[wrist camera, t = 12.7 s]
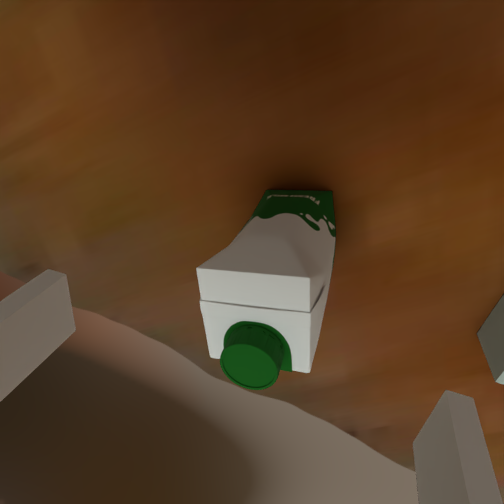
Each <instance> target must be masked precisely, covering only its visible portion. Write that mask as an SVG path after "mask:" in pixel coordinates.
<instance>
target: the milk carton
mask: <svg viewBox="0 0 504 504" xmlns="http://www.w3.org/2000/svg"><path fill="white" fill-rule="evenodd" d="M335 243H336V226H335V216H334V207H333V196H332V191H307V190H266V192H265V194H264V195H263V197H262V199H261V201H260V202H259V204H258V206H257V207H256V209H255V211H254V213H253V214H252V216H251V218H250V219H249V220H248V222H247V223H246V224H245V226H244V227H243V228H242V230H241V231H240V232H239V234H238V235H237V236H236V238H235V239H234V240H233V241H232V243H231V244H230V245H229V246H228V247H226V248H225V249H223V250H222V251H220V252H219V253H218V254H216V255H215V256H213V257H212V258H210V259H209V260H208V261H206V262H205V263H203V264H202V265H200V266H199V267H197V268H196V270H197V276H198V282H199V288H200V294H201V297H200V308H201V312H202V315H203V320H204V326H205V331H206V337H207V343H208V348H209V354H210V357H212V358H217V359H220V365H221V368H222V370H223V372H224V373H225V375H226V376H227V377H228V378H229V379H230V380H231V381H233V382H234V383H235V384H237V385H239V386H241V387H244V388H247V389H252V390H262V389H266V388H268V387H270V386H272V385H273V384H274V383H275V382H276V380H277V378H278V375H279V371H280V370H284V371H289V372H292V370H294V371H299V372H304V373H309V372H310V370H311V366H312V361H313V358H314V354H315V350H316V346H317V343H318V339H319V335H320V330H321V324H322V319H323V314H324V310H325V306H326V301H327V296H328V290H329V285H330V280H331V274H332V269H333V263H334V256H335Z"/></svg>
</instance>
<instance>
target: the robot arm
mask: <svg viewBox="0 0 504 504" xmlns="http://www.w3.org/2000/svg"><path fill="white" fill-rule="evenodd" d="M74 331H76V328H75V323H74V317H73V312H72V305H71V300H70V294H69V288H68V283H67V277H66V274H63V273H60V272H56V271H53V270H50V269H47V270H46V271H44V272H43V273H41V274H40V275H38V276H37V277H35V278H34V279H33V280H31V281H30V282H28V283H27V284H25V285H24V286H22V287H21V288H19V289H18V290H16V291H15V292H13V293H12V294H10V295H9V296H7V297H6V298H4V299H3V300H2V301H0V402H1V401H2V400H3V399H4V398H5V397H6V396H7V395H8V394H9V393H10V392H11V391H12V390H13V389H14V388H15V387H16V386H17V385H18V384H20V383H21V382H22V381H23V380H24V379H25V378H26V377H27V376H28V375H29V374H30V373H31V372H32V371H33V370H34V369H35V368H36V367H38V366H39V365H40V364H41V363H42V362H43V361H44V360H45V359H46V358H47V357H48V356H49V355H50V354H51V353H52V352H53V351H54V350H56V348H58V347H59V346H60V345H61V344H62V343H63V342H64V341H65V340H66V339H67V338H68V337H69V336H70V335H71V334H72V333H74ZM413 449H414V460H415V470H416V480H417V491H418V501H419V504H503V502H502V499H501V495H500V492H499V488H498V485H497V481H496V478H495V474H494V470H493V467H492V463H491V460H490V456H489V453H488V449H487V446H486V442H485V438H484V435H483V431H482V428H481V424H480V421H479V417H478V414H477V410H476V407H475V403H474V399H473V398H471V397H468V396H465V395H461V394H458V393H455V392H451V391H448V390H445V392H444V393H443V395H442V397H441V398H440V400H439V401H438V403H437V405H436V406H435V408H434V410H433V411H432V413H431V414H430V416H429V418H428V419H427V421H426V423H425V424H424V426H423V427H422V429H421V431H420V432H419V434H418V435H417V437H416V439H415V440H414V442H413Z"/></svg>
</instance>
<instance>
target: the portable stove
mask: <svg viewBox="0 0 504 504" xmlns="http://www.w3.org/2000/svg"><path fill="white" fill-rule="evenodd" d="M477 335H478V338H479V340H480V343H481V346H482V348H483V351H484V354H485V356H486V359H487V361H488V364H489V367H490V369H491V372H492V375H493V377H494V380H495V382H498V383H501V384H504V294H503V296H502V297H501V299H500V300H499V302H498V303H497V305H496V306H495V308H494V309H493V310H492V312H491V313H490V315H489V316H488V318H487V319H486V321H485V322H484V324H483V325H482V327H481V328H480V330H479V331H478V333H477Z"/></svg>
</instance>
